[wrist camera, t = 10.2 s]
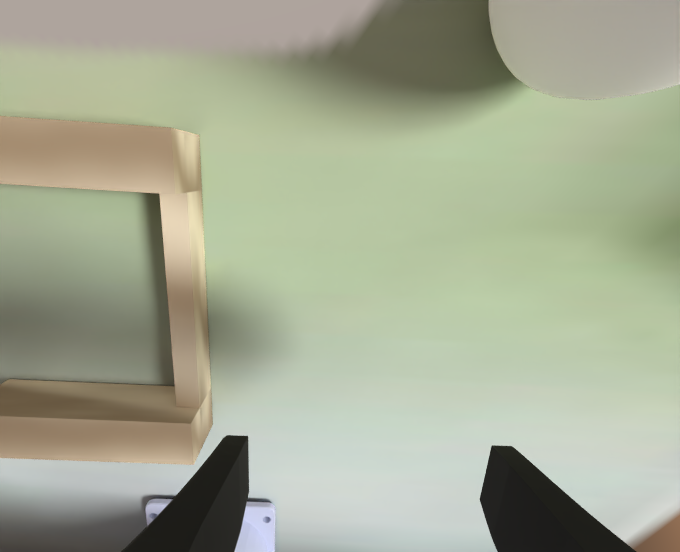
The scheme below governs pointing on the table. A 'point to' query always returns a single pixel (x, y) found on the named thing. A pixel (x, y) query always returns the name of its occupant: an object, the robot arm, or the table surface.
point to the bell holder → (182, 289)
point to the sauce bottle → (589, 45)
